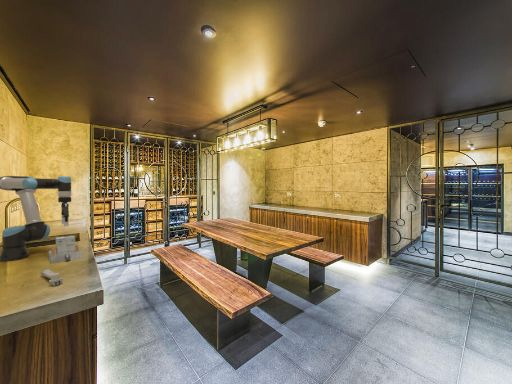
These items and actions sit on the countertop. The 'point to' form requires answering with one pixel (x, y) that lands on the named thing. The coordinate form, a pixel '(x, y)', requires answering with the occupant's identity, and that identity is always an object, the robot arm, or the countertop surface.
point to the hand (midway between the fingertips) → (65, 225)
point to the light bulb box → (65, 244)
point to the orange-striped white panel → (65, 255)
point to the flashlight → (52, 277)
